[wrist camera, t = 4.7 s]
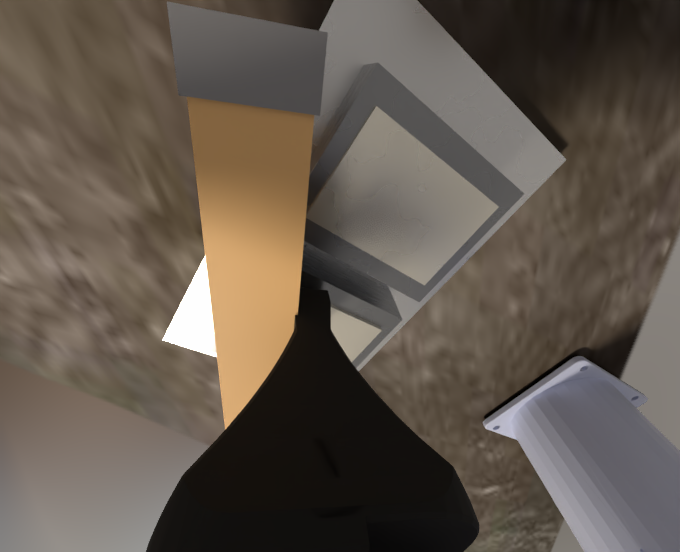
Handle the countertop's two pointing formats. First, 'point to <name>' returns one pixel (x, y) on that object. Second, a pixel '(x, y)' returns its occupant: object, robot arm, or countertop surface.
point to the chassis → (397, 174)
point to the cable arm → (249, 177)
